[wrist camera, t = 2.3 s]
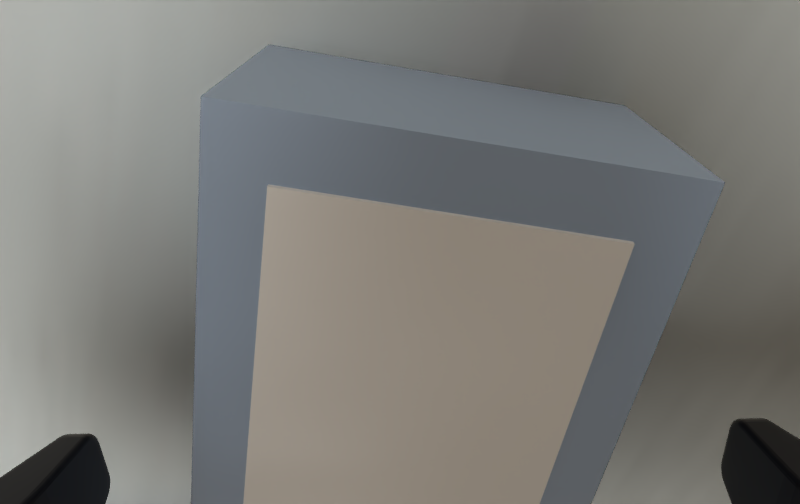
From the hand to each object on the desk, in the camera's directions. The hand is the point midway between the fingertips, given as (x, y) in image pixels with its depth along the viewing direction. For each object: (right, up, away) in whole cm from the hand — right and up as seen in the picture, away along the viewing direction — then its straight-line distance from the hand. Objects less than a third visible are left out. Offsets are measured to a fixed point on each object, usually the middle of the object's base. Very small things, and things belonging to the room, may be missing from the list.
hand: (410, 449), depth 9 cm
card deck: (0, +2, +4) cm, 4 cm away
